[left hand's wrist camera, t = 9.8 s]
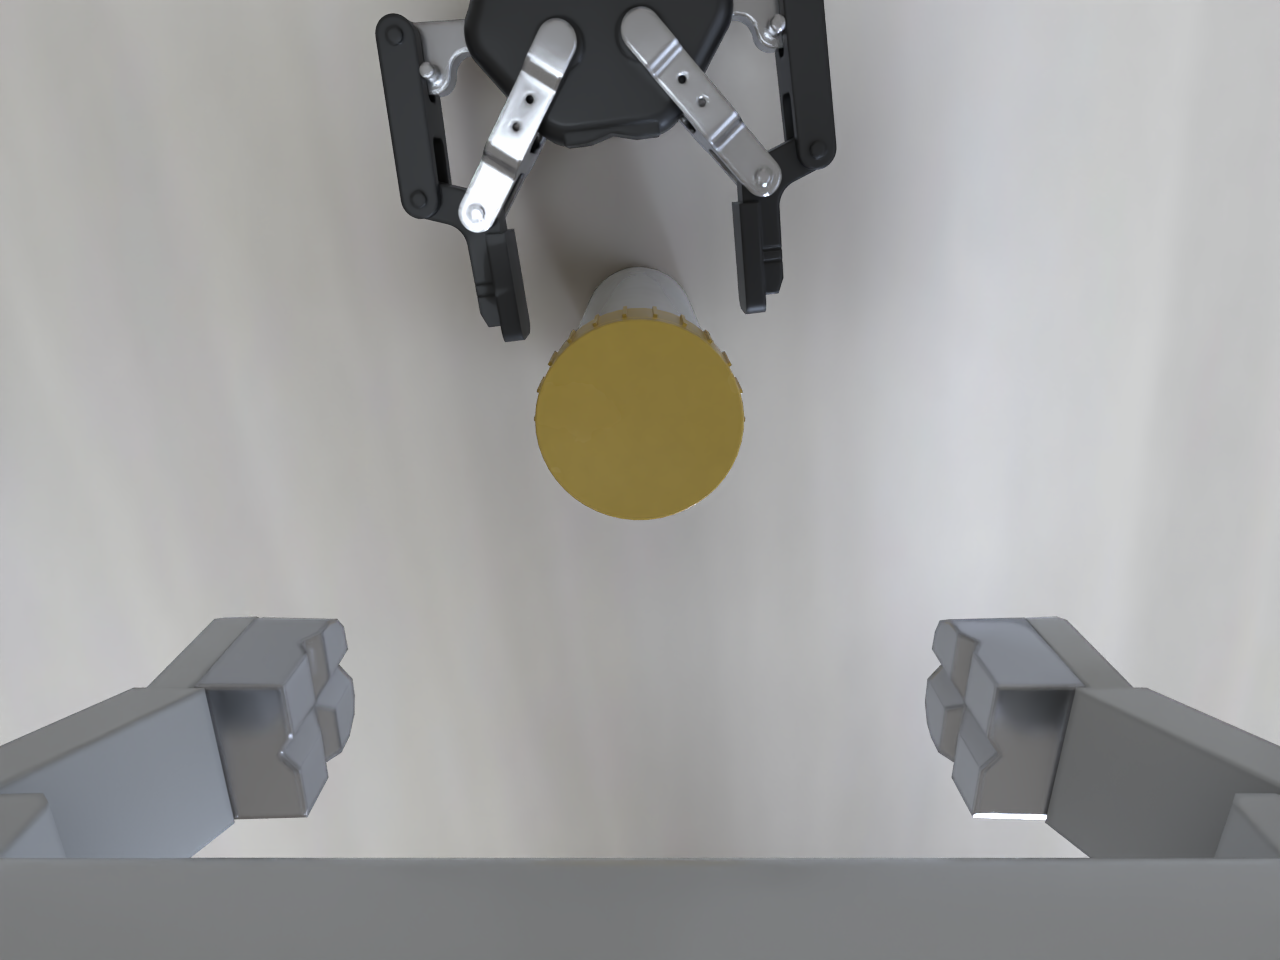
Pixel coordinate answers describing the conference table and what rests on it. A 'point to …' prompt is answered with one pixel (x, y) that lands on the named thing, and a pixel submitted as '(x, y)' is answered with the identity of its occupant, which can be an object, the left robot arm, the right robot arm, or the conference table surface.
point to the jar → (639, 294)
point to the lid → (639, 414)
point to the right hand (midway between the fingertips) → (635, 323)
